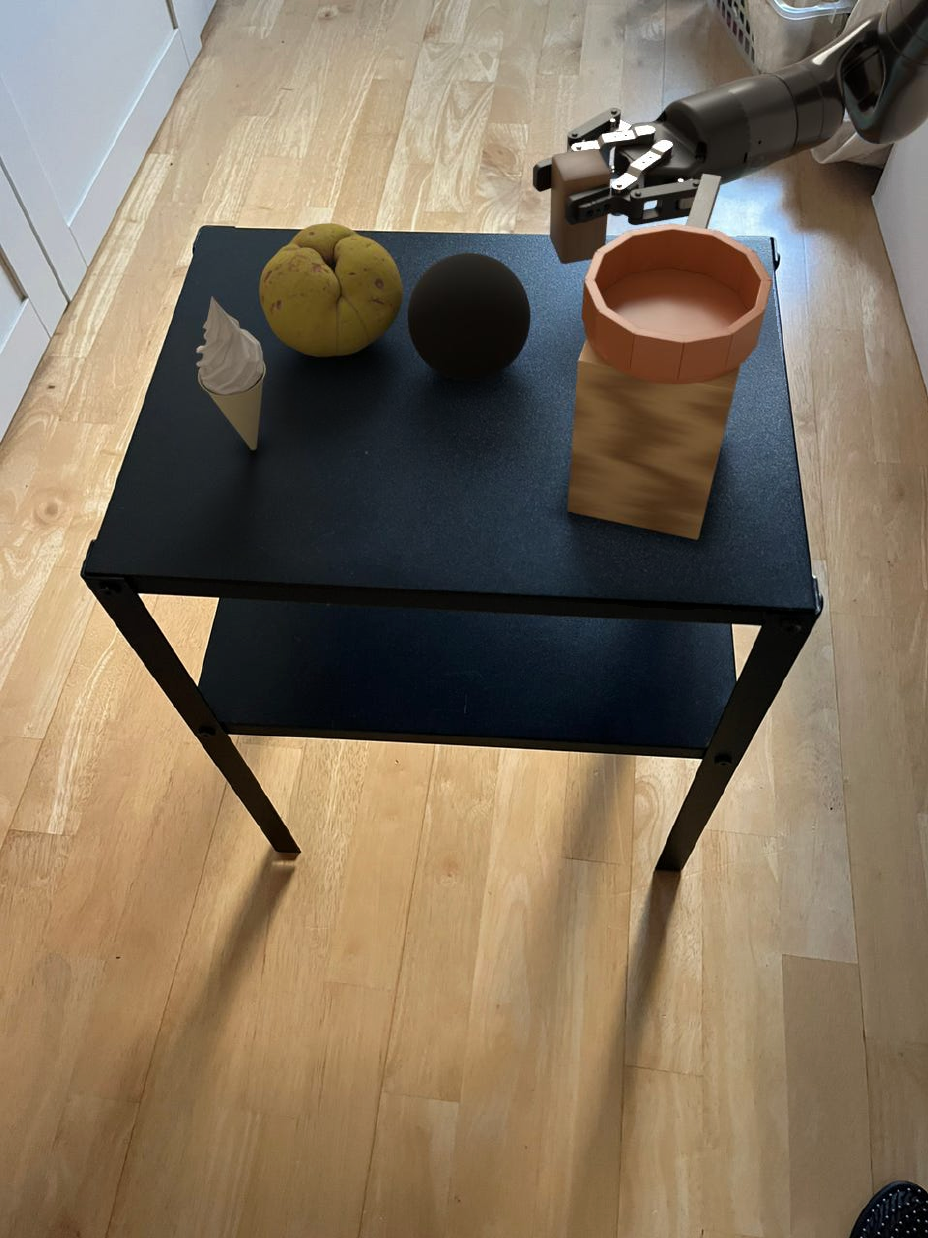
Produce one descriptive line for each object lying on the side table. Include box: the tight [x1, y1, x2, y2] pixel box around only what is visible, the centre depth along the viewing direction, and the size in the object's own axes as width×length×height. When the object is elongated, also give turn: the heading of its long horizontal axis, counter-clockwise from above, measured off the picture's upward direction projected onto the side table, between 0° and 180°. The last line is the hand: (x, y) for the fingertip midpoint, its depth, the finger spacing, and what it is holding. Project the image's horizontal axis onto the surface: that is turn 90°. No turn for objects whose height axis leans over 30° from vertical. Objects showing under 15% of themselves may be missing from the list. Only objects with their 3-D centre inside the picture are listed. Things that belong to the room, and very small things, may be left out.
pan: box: [581, 174, 773, 384], centre depth 69 cm, size 18×11×4 cm, turn 162°
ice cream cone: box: [196, 295, 267, 451], centre depth 78 cm, size 5×5×15 cm
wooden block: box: [549, 148, 611, 265], centre depth 86 cm, size 4×4×8 cm
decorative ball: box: [407, 252, 532, 382], centre depth 85 cm, size 10×10×10 cm
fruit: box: [258, 222, 404, 358], centre depth 87 cm, size 11×12×10 cm
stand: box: [566, 337, 742, 541], centre depth 75 cm, size 10×10×15 cm
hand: (551, 195), depth 84 cm, fingers closed on wooden block, 4 cm apart
